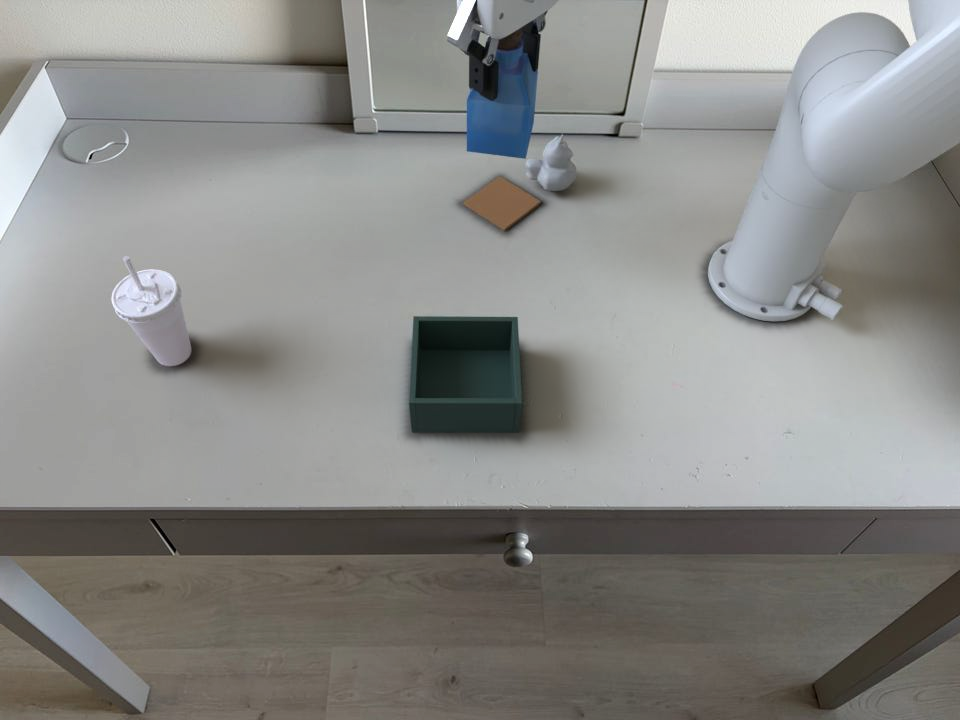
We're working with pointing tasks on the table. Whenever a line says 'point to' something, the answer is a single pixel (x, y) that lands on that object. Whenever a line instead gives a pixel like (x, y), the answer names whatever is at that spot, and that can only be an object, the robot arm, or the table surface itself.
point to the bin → (465, 374)
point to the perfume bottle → (505, 105)
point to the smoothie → (154, 312)
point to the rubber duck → (553, 166)
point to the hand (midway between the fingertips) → (503, 78)
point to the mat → (502, 203)
